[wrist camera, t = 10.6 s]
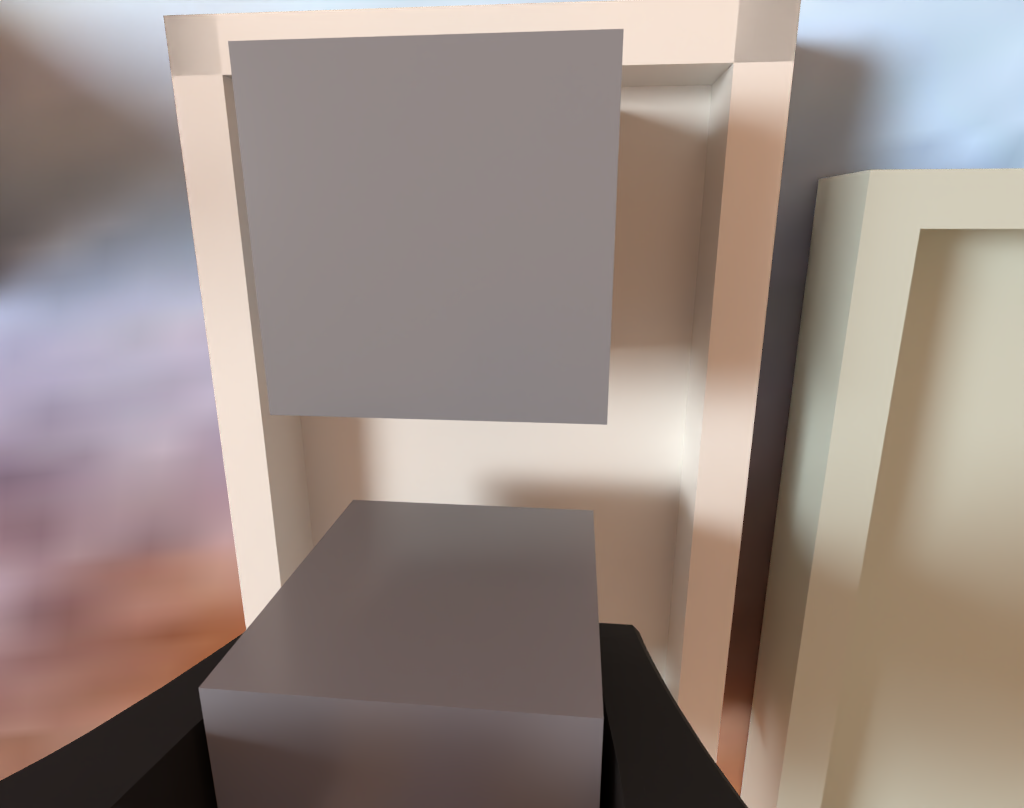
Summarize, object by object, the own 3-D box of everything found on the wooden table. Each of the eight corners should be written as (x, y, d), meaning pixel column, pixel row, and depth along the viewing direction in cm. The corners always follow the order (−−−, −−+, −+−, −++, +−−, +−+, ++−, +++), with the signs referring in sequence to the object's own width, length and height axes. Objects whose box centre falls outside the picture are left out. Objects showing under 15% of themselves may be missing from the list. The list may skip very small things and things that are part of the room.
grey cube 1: (596, 348, 11) (607, 424, 7) (381, 344, 12) (270, 414, 8) (604, 108, 10) (623, 28, 6) (368, 113, 11) (227, 41, 6)
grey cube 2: (585, 715, 11) (588, 1017, 7) (368, 698, 12) (245, 974, 7) (593, 510, 10) (604, 718, 6) (352, 499, 11) (197, 688, 6)
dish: (696, 699, 14) (714, 775, 12) (301, 671, 15) (260, 738, 13) (759, 35, 10) (801, -7, 8) (234, 50, 11) (163, 15, 9)
